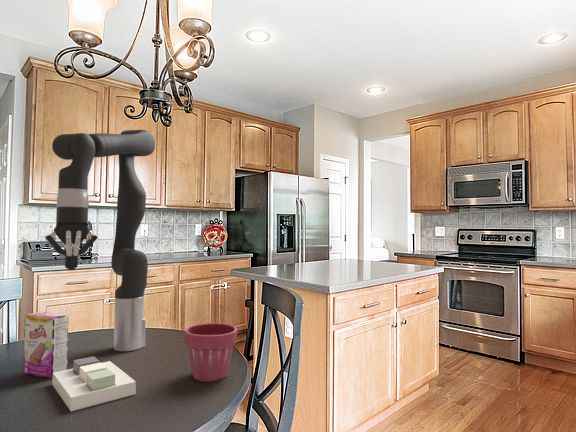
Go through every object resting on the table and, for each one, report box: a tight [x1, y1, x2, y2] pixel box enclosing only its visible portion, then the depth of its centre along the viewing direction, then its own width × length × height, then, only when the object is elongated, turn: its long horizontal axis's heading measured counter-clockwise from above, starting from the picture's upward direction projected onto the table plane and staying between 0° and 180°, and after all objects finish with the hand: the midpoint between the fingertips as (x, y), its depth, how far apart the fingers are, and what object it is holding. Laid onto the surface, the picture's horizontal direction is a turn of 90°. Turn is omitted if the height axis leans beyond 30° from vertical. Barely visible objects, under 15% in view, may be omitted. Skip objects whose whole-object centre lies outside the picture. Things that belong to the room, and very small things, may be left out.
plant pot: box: [183, 322, 238, 383], centre depth 107 cm, size 14×14×13 cm
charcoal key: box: [72, 356, 100, 375], centre depth 102 cm, size 5×5×3 cm
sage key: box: [86, 369, 115, 391], centre depth 92 cm, size 5×5×3 cm
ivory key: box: [79, 362, 107, 383], centre depth 97 cm, size 5×5×3 cm
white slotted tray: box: [51, 360, 137, 412], centre depth 97 cm, size 14×20×3 cm
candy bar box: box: [22, 311, 69, 380], centre depth 108 cm, size 11×5×16 cm, turn 71°
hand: (70, 269), depth 105 cm, fingers closed
